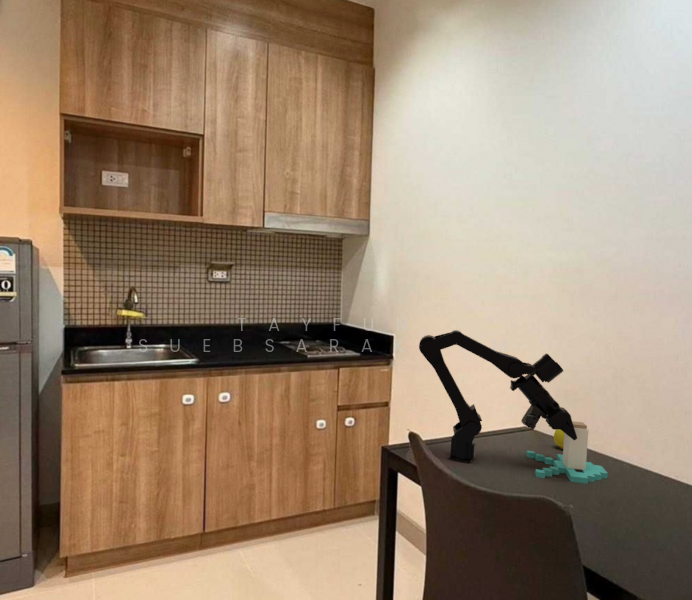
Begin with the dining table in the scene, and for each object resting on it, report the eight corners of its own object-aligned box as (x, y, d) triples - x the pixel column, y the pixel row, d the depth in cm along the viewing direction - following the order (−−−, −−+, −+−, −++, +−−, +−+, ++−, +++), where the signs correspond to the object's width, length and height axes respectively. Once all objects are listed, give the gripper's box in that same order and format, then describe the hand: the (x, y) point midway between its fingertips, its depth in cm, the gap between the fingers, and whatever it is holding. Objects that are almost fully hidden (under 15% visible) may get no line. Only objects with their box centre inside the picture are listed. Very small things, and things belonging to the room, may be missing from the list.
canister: (567, 468, 151) (570, 424, 151) (562, 462, 156) (565, 420, 156) (585, 470, 150) (588, 426, 150) (580, 464, 155) (583, 422, 155)
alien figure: (536, 479, 146) (614, 489, 142) (536, 471, 146) (614, 481, 142) (526, 457, 166) (594, 465, 162) (526, 450, 166) (595, 458, 162)
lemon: (546, 446, 177) (549, 416, 176) (559, 445, 179) (562, 415, 179) (562, 452, 171) (565, 422, 170) (575, 451, 173) (578, 421, 173)
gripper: (508, 403, 165) (542, 442, 163) (518, 417, 146) (556, 462, 145) (537, 380, 163) (571, 420, 162) (550, 392, 145) (589, 437, 143)
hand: (571, 434), depth 153 cm, fingers open, 9 cm apart
